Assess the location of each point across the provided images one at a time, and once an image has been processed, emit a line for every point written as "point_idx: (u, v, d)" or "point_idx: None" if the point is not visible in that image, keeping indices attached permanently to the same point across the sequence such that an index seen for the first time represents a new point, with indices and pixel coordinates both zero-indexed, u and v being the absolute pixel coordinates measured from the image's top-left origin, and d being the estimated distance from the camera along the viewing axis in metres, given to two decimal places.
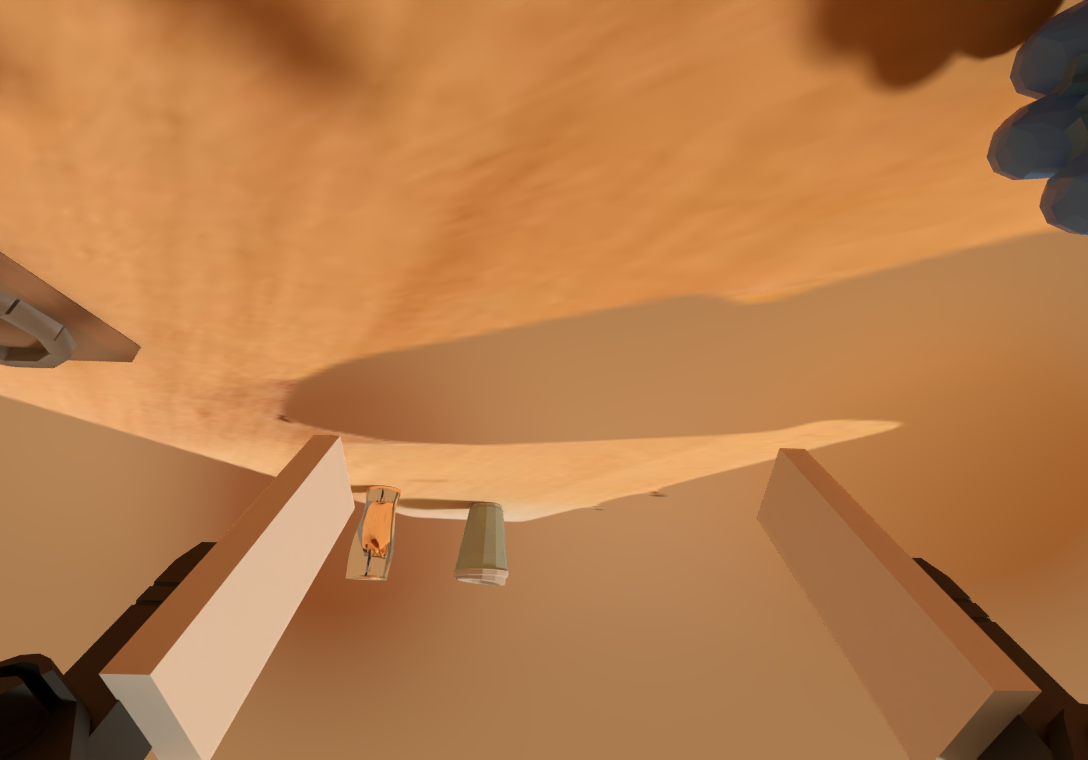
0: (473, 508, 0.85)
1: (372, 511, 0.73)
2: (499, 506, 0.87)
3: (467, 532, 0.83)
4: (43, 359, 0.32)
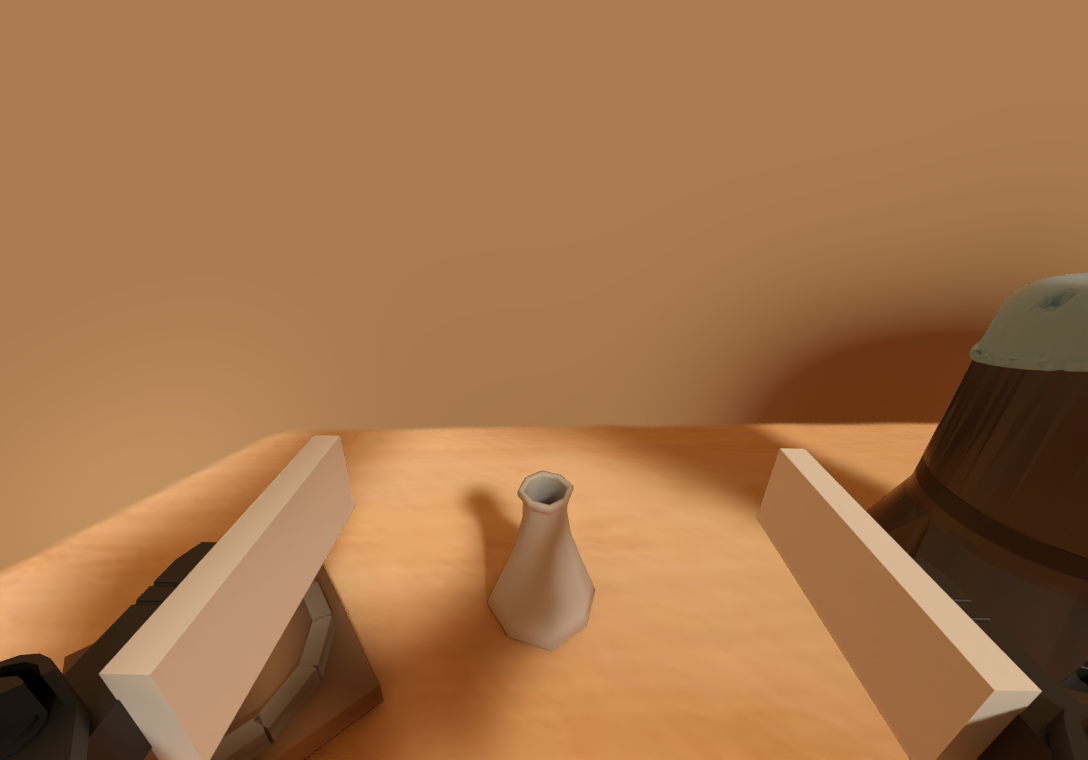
0: None
1: None
2: None
3: None
4: None
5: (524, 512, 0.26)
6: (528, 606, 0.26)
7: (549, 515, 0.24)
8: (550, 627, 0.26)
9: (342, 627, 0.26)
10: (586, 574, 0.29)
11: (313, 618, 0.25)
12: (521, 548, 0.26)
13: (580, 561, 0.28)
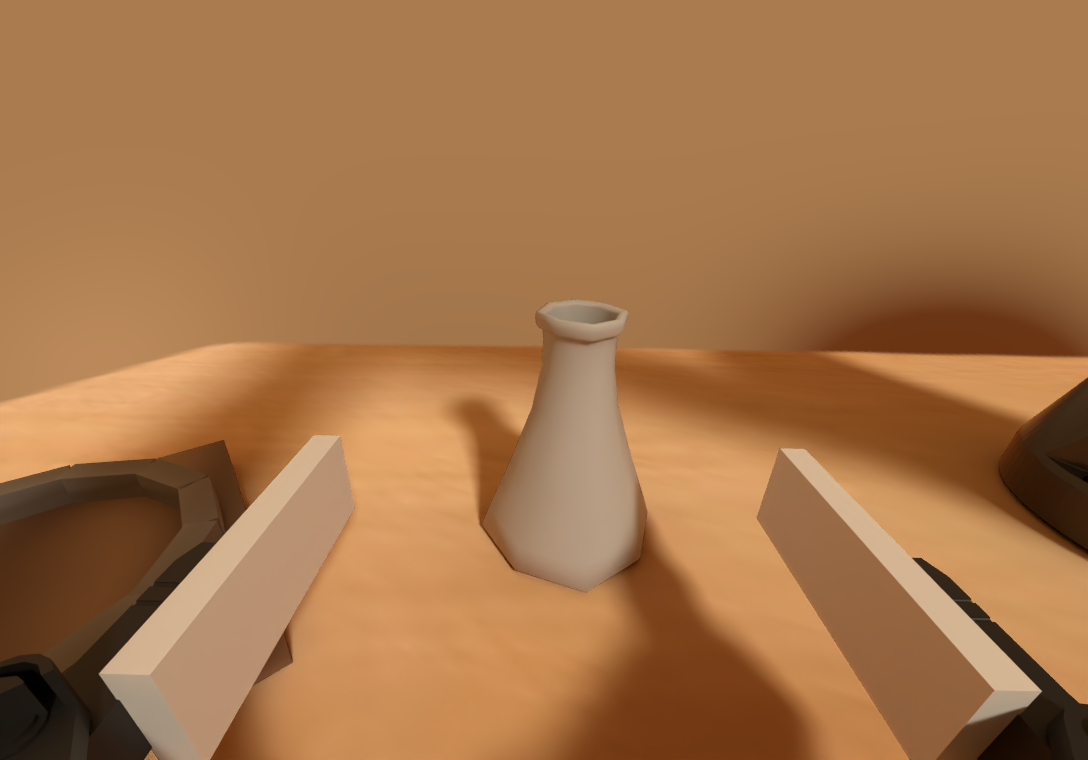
0: None
1: None
2: None
3: None
4: None
5: (545, 355, 0.15)
6: (549, 516, 0.16)
7: (590, 347, 0.14)
8: (585, 551, 0.16)
9: None
10: (637, 482, 0.18)
11: (185, 523, 0.15)
12: (538, 421, 0.16)
13: (629, 459, 0.18)
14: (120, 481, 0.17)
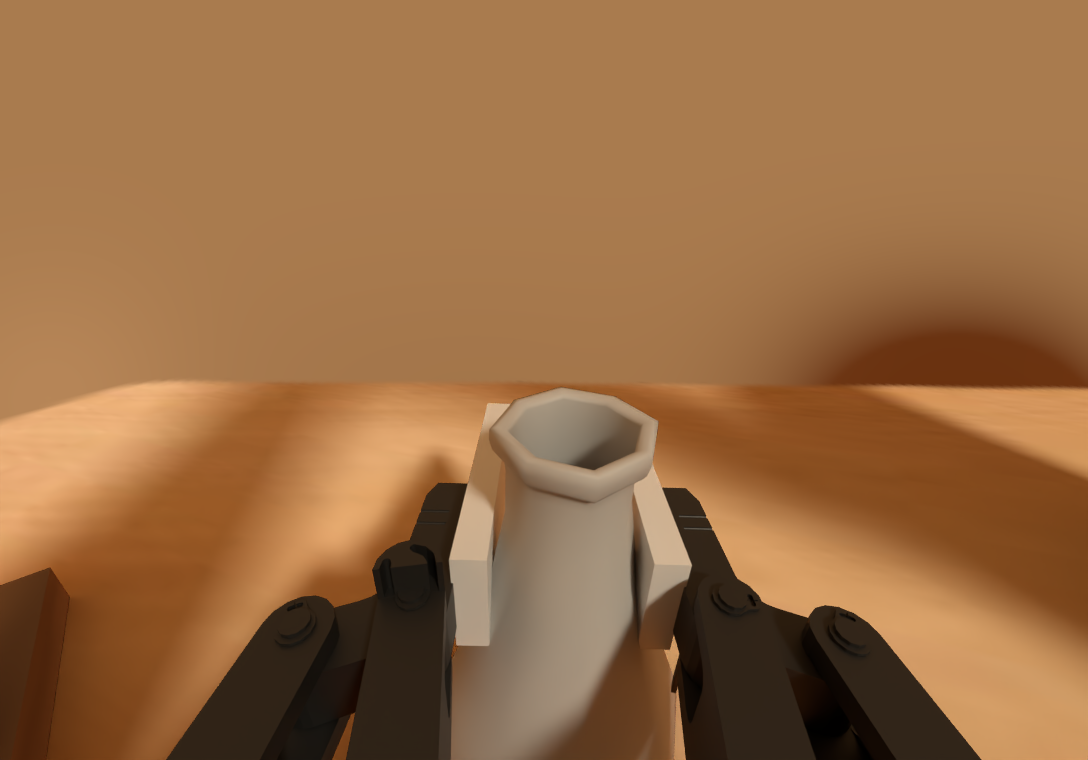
0: None
1: None
2: None
3: None
4: None
5: (510, 499, 0.09)
6: None
7: (591, 507, 0.07)
8: None
9: None
10: (664, 659, 0.12)
11: None
12: (501, 604, 0.09)
13: None
14: None
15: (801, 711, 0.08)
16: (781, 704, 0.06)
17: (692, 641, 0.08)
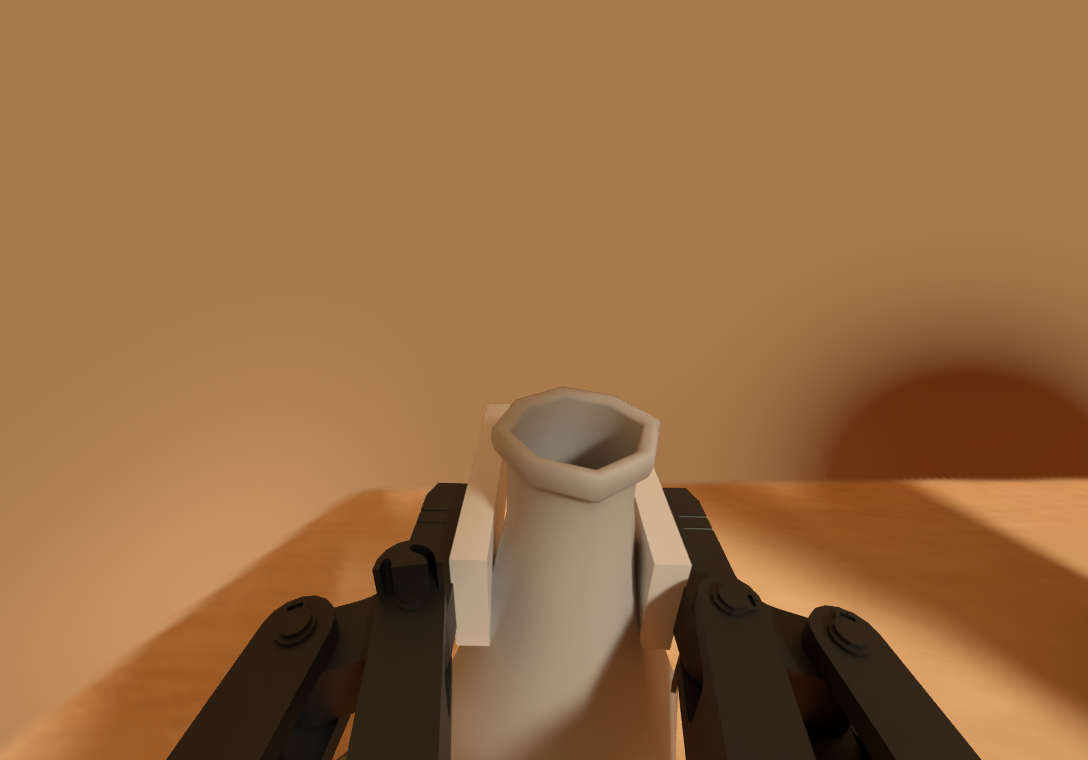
0: None
1: None
2: None
3: None
4: None
5: (512, 499, 0.09)
6: None
7: (593, 507, 0.07)
8: None
9: None
10: (665, 659, 0.12)
11: None
12: (502, 603, 0.09)
13: None
14: None
15: (801, 711, 0.08)
16: (781, 704, 0.06)
17: (692, 641, 0.08)
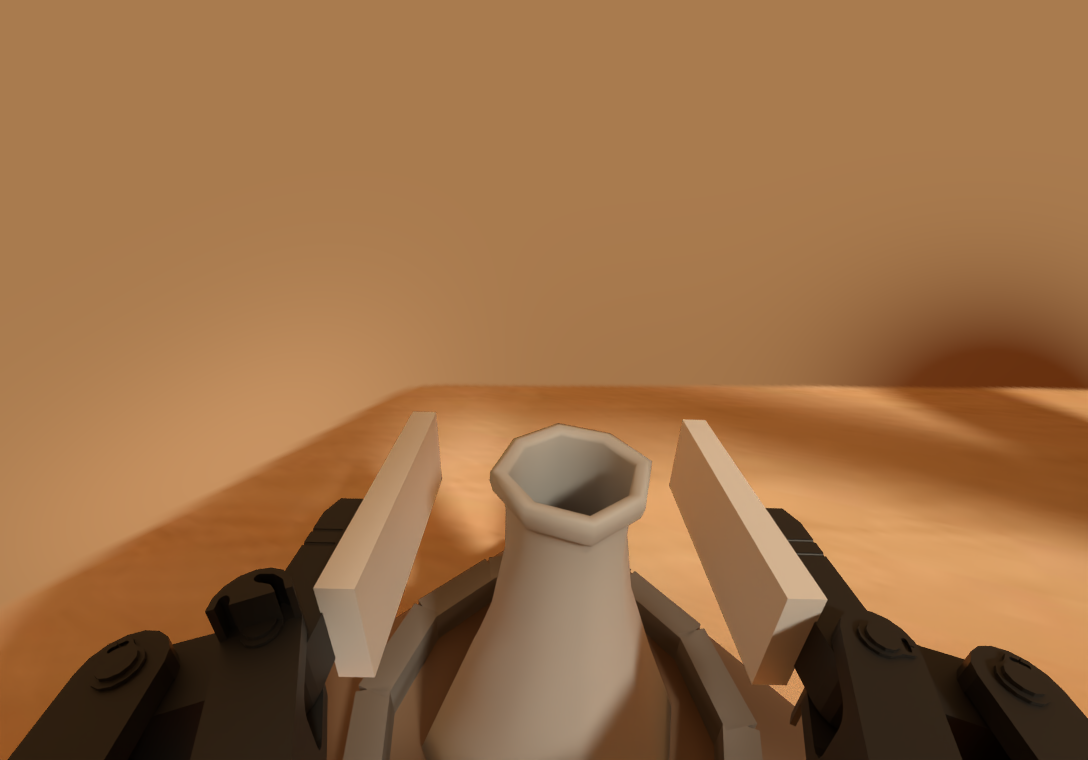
0: None
1: None
2: None
3: None
4: None
5: (510, 536, 0.09)
6: None
7: (587, 549, 0.08)
8: None
9: None
10: (658, 680, 0.12)
11: (678, 633, 0.15)
12: (501, 634, 0.10)
13: (648, 652, 0.12)
14: None
15: None
16: None
17: (827, 674, 0.08)
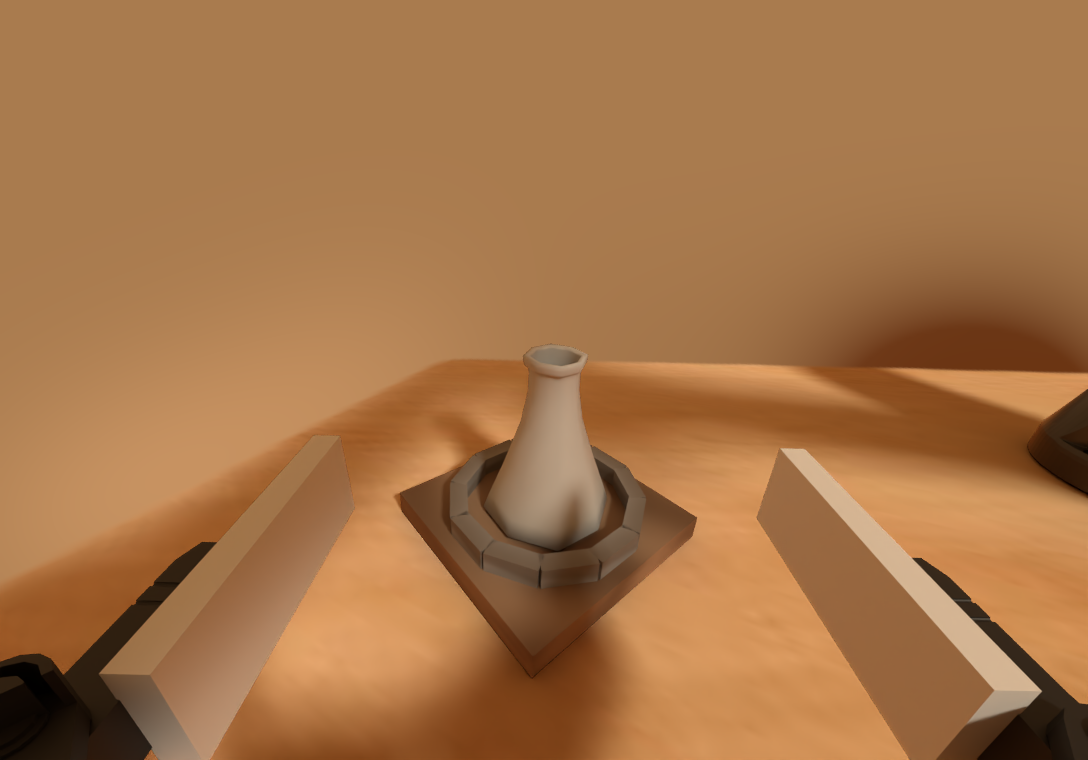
0: None
1: None
2: None
3: None
4: (510, 546, 0.21)
5: (530, 384, 0.22)
6: (532, 497, 0.22)
7: (560, 381, 0.21)
8: (557, 522, 0.22)
9: None
10: (598, 475, 0.25)
11: (613, 468, 0.28)
12: (525, 430, 0.23)
13: (592, 458, 0.25)
14: None
15: None
16: None
17: None
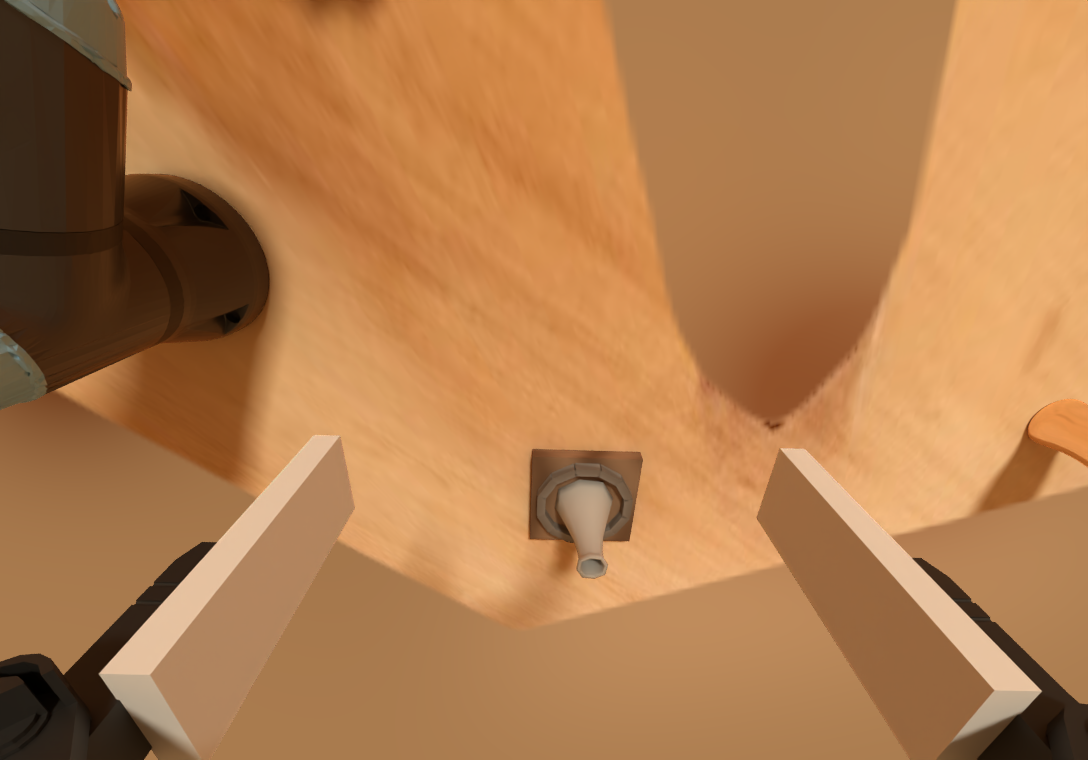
0: None
1: (1075, 444, 0.45)
2: None
3: None
4: (622, 495, 0.50)
5: None
6: (606, 508, 0.49)
7: (599, 553, 0.43)
8: (601, 493, 0.49)
9: (535, 488, 0.51)
10: (565, 501, 0.49)
11: (545, 499, 0.50)
12: None
13: (568, 511, 0.48)
14: (558, 528, 0.53)
15: None
16: None
17: None
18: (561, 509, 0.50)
